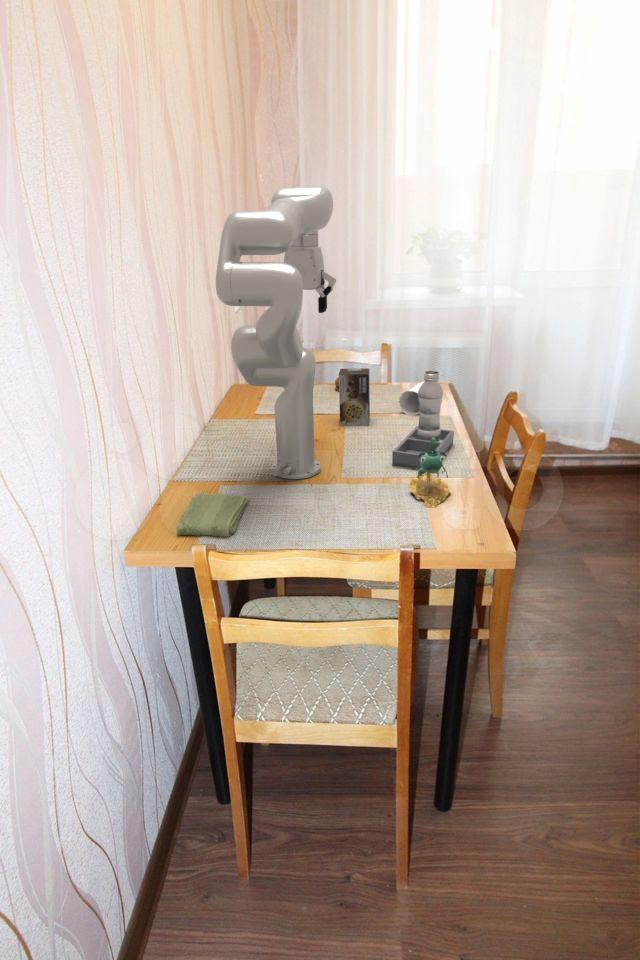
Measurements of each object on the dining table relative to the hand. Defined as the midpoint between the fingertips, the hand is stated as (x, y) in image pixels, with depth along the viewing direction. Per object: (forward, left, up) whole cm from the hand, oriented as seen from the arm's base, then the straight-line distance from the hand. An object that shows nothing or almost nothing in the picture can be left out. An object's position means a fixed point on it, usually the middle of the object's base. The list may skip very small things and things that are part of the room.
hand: (305, 311), depth 169 cm
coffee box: (+19, -6, -36) cm, 42 cm away
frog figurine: (-19, -41, -37) cm, 58 cm away
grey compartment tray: (+2, -33, -36) cm, 49 cm away
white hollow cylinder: (+40, -20, -37) cm, 58 cm away
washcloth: (-50, -1, -37) cm, 63 cm away
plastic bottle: (+7, -33, -35) cm, 49 cm away
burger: (+50, +9, -37) cm, 63 cm away
